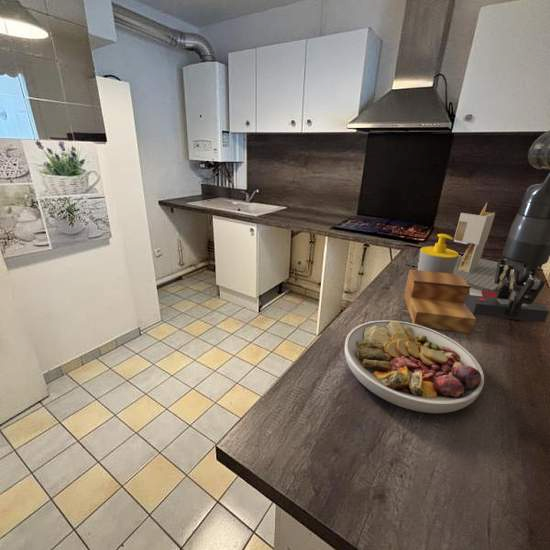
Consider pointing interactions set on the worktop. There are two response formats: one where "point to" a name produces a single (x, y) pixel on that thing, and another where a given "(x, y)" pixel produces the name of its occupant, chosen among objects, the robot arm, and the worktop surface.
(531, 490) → the worktop surface
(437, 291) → the shelf
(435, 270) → the soap bottle
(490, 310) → the remote
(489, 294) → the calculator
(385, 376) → the bowl
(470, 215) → the white desk organizer
